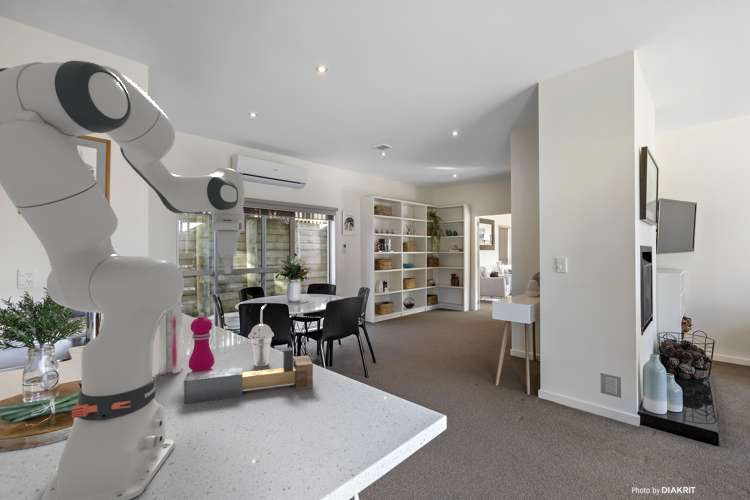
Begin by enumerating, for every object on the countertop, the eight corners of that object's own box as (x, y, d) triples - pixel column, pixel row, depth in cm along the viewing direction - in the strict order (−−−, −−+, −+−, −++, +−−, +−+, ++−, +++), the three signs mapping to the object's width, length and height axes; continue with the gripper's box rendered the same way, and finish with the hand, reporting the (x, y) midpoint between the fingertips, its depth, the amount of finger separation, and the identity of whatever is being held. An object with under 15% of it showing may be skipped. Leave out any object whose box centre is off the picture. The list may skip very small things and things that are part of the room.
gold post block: (304, 381, 102) (304, 349, 102) (230, 391, 96) (230, 356, 95) (302, 377, 106) (302, 345, 106) (231, 386, 99) (230, 352, 99)
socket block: (312, 388, 101) (312, 363, 101) (296, 390, 100) (296, 365, 99) (308, 377, 109) (308, 355, 108) (293, 379, 107) (293, 357, 107)
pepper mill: (204, 382, 105) (203, 315, 105) (183, 380, 107) (182, 314, 106) (219, 373, 112) (219, 310, 112) (199, 371, 114) (199, 309, 113)
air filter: (186, 368, 116) (185, 293, 116) (173, 375, 110) (172, 296, 109) (168, 367, 117) (167, 292, 117) (153, 375, 111) (153, 295, 110)
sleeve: (242, 396, 96) (242, 374, 95) (184, 404, 91) (184, 380, 91) (242, 387, 101) (242, 366, 101) (187, 394, 96) (187, 372, 96)
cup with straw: (242, 366, 119) (242, 307, 119) (262, 358, 127) (261, 303, 127) (261, 370, 115) (261, 309, 115) (280, 361, 123) (280, 304, 123)
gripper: (219, 226, 112) (219, 270, 113) (213, 223, 93) (213, 275, 93) (240, 227, 115) (240, 269, 115) (239, 223, 95) (239, 274, 95)
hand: (228, 272), depth 104 cm, fingers open, 8 cm apart
